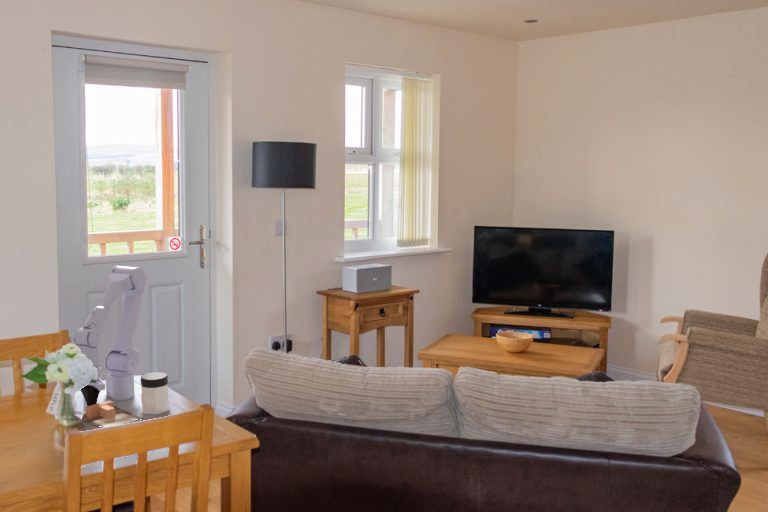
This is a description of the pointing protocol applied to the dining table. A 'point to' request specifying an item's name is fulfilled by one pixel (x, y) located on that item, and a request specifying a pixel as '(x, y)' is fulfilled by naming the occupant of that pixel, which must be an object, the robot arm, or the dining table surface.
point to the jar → (155, 393)
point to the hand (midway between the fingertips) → (91, 407)
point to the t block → (101, 410)
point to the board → (120, 418)
